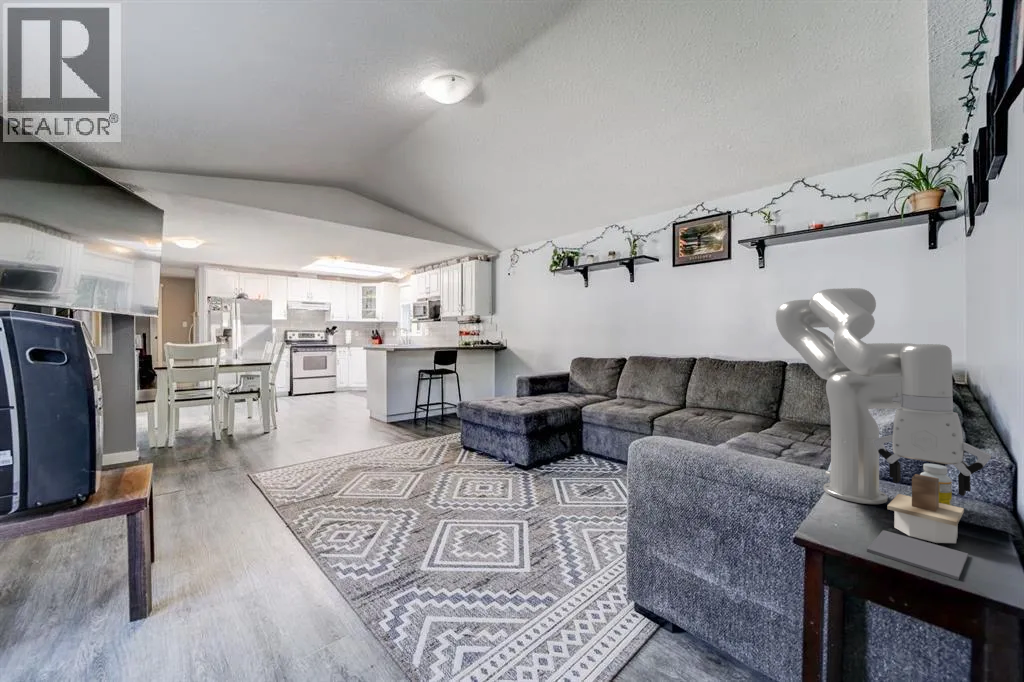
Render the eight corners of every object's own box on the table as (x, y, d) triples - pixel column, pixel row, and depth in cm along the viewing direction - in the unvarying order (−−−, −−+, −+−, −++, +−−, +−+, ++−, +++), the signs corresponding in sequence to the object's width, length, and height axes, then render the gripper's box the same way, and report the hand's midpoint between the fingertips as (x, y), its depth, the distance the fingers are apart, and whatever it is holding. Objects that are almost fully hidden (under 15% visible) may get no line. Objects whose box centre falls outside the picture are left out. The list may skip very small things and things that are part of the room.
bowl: (884, 521, 92) (884, 501, 92) (928, 522, 91) (928, 502, 91) (921, 542, 83) (921, 519, 83) (970, 543, 82) (970, 520, 82)
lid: (887, 509, 88) (887, 476, 88) (898, 497, 94) (898, 467, 94) (956, 526, 80) (956, 490, 80) (963, 512, 86) (963, 479, 86)
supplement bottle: (958, 511, 97) (958, 469, 97) (933, 510, 97) (933, 469, 97) (937, 501, 102) (937, 462, 102) (913, 501, 103) (913, 462, 103)
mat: (866, 551, 80) (866, 548, 80) (883, 532, 87) (883, 530, 87) (958, 580, 70) (958, 577, 70) (968, 556, 78) (968, 553, 78)
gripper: (867, 401, 91) (869, 480, 91) (987, 411, 77) (990, 504, 77) (876, 398, 96) (878, 474, 95) (991, 407, 82) (993, 495, 82)
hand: (928, 487), depth 86 cm, fingers open, 9 cm apart
